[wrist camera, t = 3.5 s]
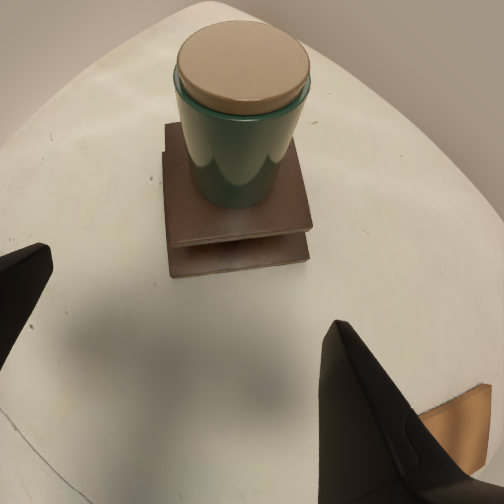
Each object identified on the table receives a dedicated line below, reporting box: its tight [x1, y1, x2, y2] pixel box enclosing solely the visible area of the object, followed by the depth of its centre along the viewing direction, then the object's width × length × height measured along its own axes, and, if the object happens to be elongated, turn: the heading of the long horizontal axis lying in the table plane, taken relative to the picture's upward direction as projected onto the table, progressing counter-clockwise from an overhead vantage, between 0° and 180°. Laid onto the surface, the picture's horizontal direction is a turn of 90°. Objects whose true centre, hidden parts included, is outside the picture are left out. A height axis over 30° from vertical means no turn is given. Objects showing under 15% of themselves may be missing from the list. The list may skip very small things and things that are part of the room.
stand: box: [162, 122, 313, 279], centre depth 21 cm, size 10×10×6 cm
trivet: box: [418, 384, 492, 476], centre depth 20 cm, size 12×10×2 cm
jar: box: [173, 21, 311, 209], centre depth 13 cm, size 5×5×9 cm
